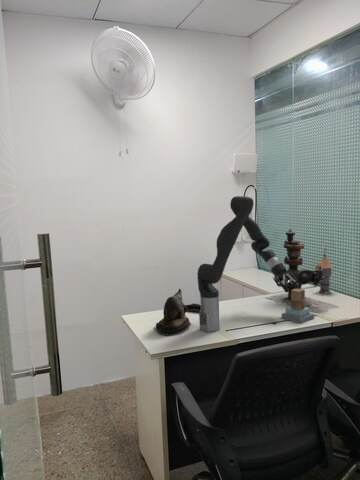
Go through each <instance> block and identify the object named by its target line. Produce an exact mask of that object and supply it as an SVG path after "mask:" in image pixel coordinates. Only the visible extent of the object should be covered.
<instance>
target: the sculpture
mask: <svg viewBox="0 0 360 480" xmlns="http://www.w3.org/2000/svg"><path fill="white" fill-rule="evenodd" d="M185 305H186V304H185V303H184V301H183V292H182V289H181V288H179V289H178V291H177V292H175V294H173V295H172V296H169V297H168V298H167V299H166V300H165V302H164V306H163V317H162V319H161V320H159V321H158V322H156V323H155V329H156V331H158V333H160V334H163V335H165V336H166V337H170V336H174V335H179V334H183V333H185V332H187V330H188V329H190V327H191V326H192V323H191V322H190V319H189V318H188V317H187V315H186V312H187V311H188V310H187V307H186V306H185Z"/></svg>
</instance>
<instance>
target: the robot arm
mask: <svg viewBox="0 0 360 480" xmlns="http://www.w3.org/2000/svg"><path fill="white" fill-rule="evenodd" d="M254 203H255V202H254V199H253V198H252V197H250V196H242V195H241V196H238V195H236V196H234V197H233V196H232V198H231V200H230V205H229V206H230V209H231V212H232V213H233V214H234V215H235V217H234V218H233V219H232V220H231V221H229V222H228V223H227V224H226V225H224V226H223V227H222V228H221V230H220V233H219V234H218V236H217V239H216V257H215V258H214V261H213V263H212V264H210V263H202V264H200V266H199V267H198V269H197V284H198V285H197V286H198V291H199V294H200V297H199V298H200V305H201V311H199V310H198V314H199V315H198V316H199V330H201V331H204V332H206V333H213V332H218V331H220V327H221V326H220V300H219V299H220V297H219V296H220V295H219V294H220V293H219V289H217V287H215V286H214V284H217V283H219V281H220V280H221V278H222V276H223V273H224V271H225V268H226V266H227V262H228V259H229V257H230V254H231V252H232V250H233V248H234V246H235V244H236V242H237V240H238V237H239V235H240V232H241V231H242V229H243V228H244V229H245V230H246V232H247V234H248V236H249V239H250V240H251V241H252V242H251V244H250V247H251V249H252V250H253V252H255V253H256V254H257V255H259V257H261V258H262V259H263V261H264V262H265V264H266V265H267V267H268V268H269V270H270V272H271V273H272V275H273V277H272V279H273V281H274V283H275V284H276V286H277V287H278V288H282V290H283V291H284V293H288V291H289V289H288V288H287V286H286V285H285V282H289V283H291V284H293V286H294V287H295V289H296V288H297V289H299V286H298V284H297V283H296V281H297V278H296V277H295V276H294V275H293V273H292V272H290V273H287V272H286V271H287V268H286V266H285V265H284V264H283V262H282V261H281V260H280V259H279V257H278V256H277V255H276V253H275V252H274V251H273V250H272V249H267V248H268V247H270V246H271V244H270V243H271V242H270V240H269V239H268V238H267V237H266V236H265V235H264V234H263V232H262V230H261V228H260V226H259V225H258V223H257V222H256V221H255V220H254V219H253V218H252V217H250V215H251V213H252V212H253V211H252V210H253V208H254ZM265 249H267V250H265ZM293 278H294V279H295V280H294V279H293ZM289 279H290V280H289ZM292 281H293V282H292Z"/></svg>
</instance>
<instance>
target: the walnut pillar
mask: <svg viewBox="0 0 360 480" xmlns="http://www.w3.org/2000/svg"><path fill="white" fill-rule="evenodd" d="M305 293H306V291H305V289H302V288H301V289H297V288H296V289H293V290H291V305H290V307H291V308H293V309H297V310H301V309H304V308H305V307H306V305H305V297H306V294H305Z"/></svg>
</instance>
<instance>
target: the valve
mask: <svg viewBox="0 0 360 480" xmlns="http://www.w3.org/2000/svg"><path fill="white" fill-rule="evenodd" d="M285 235H286V236H287V237H286V240H284V243H283V248H284V249H286V254H287V256H285V257H284V258H283V260H284V261H283V263H284V264H285V265H288V269H286V272H287V273H290V272H292V273H293V275H294V276H295V277H296V278H297V281H296V283H297V284H298V286H299V289H302V287H303V286H302V285H304V286H305V285H307V284H309V283H311V284H313V285H314V286H319V285H320V284H319V283H320V280H323V279H324V277H323V270H322V269H321V266H319V269H317V270H316V269H315V268H314V269H306V268H303V269H299V266H302V265H303V261H304V259H303V257H301V254H302V253H301V252H302V250H304V249H305V244H304V243H301V241H300V240H298V239H295V238H294V236H295V235H296V232H295V231H293V229H292V228H289V230H288V231H285ZM293 279H294V278H293ZM289 280H290V279H289ZM294 280H295V279H294ZM292 282H293V281H292ZM285 285H286V286H287V288H288V289H289V291H288V292H284V293H279V294H275V295H271V296H267V297H265V299H267V300H272V301H275V302H278V303H280V304H286V305H288V306H291V290H293V289H295V287H294V286H293V284H291V283H289V282H285ZM305 307H307V308H310V312H314V313H316V314H321V313H324V312H328V311H329V310H335V309H339V308H340V307H341V306H339V305H337V304H334V303H329V302H325V301H322V300H317V299H314V298H311V297H308V296H305Z"/></svg>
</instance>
